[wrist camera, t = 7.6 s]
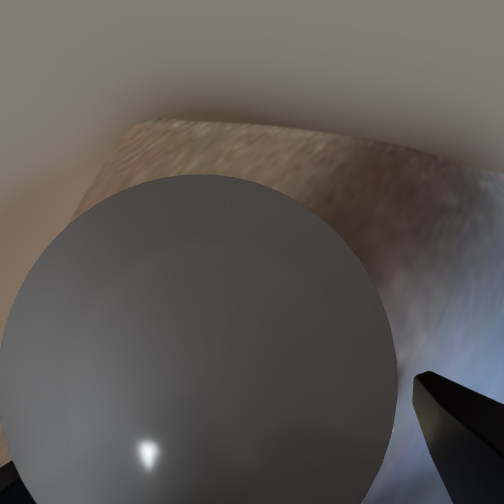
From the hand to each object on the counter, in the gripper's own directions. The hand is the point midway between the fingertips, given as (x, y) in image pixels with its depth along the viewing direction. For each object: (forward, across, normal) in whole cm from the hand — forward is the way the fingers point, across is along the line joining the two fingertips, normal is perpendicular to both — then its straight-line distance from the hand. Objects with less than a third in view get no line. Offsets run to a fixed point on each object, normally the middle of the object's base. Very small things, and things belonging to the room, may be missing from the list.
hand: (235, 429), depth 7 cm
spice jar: (+7, 0, +5) cm, 9 cm away
